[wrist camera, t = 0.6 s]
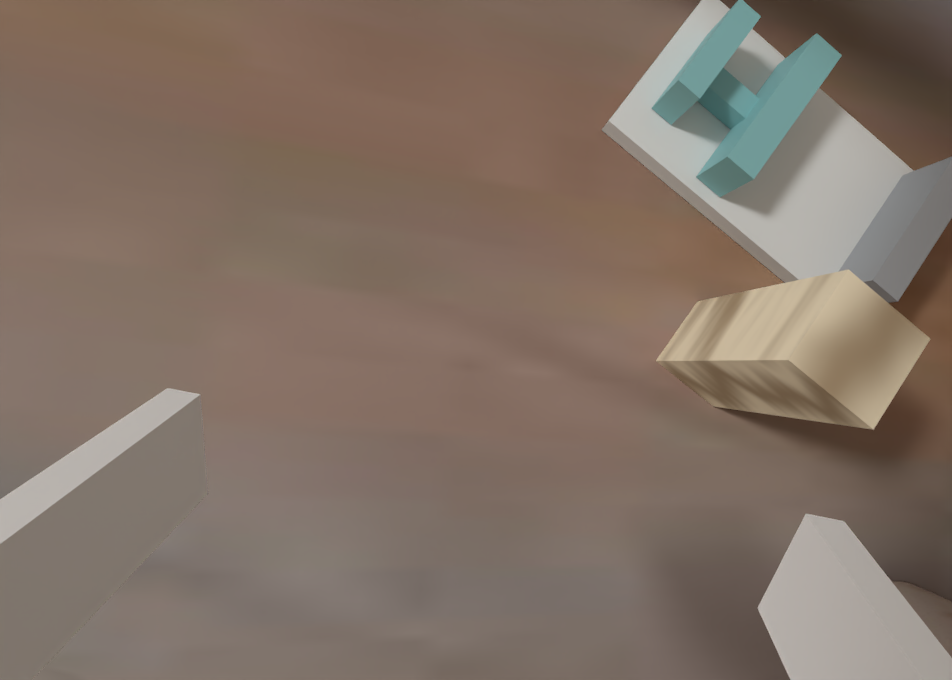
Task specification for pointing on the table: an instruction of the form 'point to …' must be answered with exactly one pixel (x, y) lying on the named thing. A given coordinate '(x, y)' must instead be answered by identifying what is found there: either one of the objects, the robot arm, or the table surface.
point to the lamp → (930, 611)
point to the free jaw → (744, 98)
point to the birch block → (798, 350)
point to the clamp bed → (792, 175)
